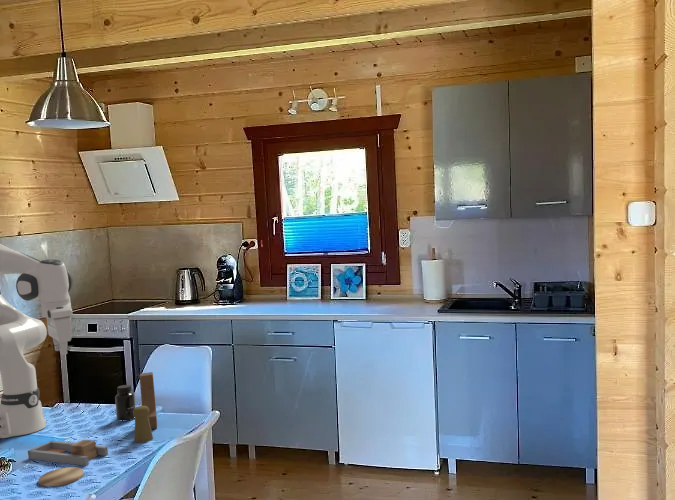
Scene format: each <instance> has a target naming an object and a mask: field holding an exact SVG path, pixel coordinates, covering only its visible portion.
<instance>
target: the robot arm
mask: <svg viewBox="0 0 675 500" xmlns="http://www.w3.org/2000/svg"><path fill="white" fill-rule="evenodd" d="M11 274H13V275H15V274H17V275H18V274H20V275H19V276H18V277H17V279H16V285H15V289H16V292H17V295H18V296H19V298H21V299H22V300H24V301H25V302H26V301H27V302H28V301H29V302H34V301H39V300H40V308H41V317H42V318H45V319H46V323H47V327H46V325H45V323H44V322H43V321H42V320H41V319H39V318H38V319H37V318H35V317H31V316H28V315H27V314H25V313H23V312H22V311H21V310H19V309H17V308H16V307H14V306H13V305H12V304H11V303H9V302H8V301H7V300H6V298H4V297H3V295H2V294H1V293H0V377H1V384H2V394H0V439H6V438H7V439H8V438H13V437H18V436H24V435H28V434H33V433H36V432H39V431H40V430H43V429H45V428H46V426H47V424H46V423H47V419H46V418H45V415H44V410H43V406H42V402H41V400H40V397H41V396H40V388H39V387H38V383H37V382H38V381H37V380H38V379H37V371H36V367H35V365H34V364H32V363H30V362H28V361H27V360H26V357H25V356H24V351H27V350H30V349H34V348H36V347H38V346H39V345H41V343H43V342H44V341H45V340H46V338H47V335H48V336H49V337H51V338H52V341H53V345H54V351H55V352H59V353H60V355H61V356H65V355H67V354H68V346H69V345H68V342H71V341H72V337H73V336H72V335H73V334H72V333H73V331H72V317H73V315H74V314H73V309H72V303H71V302H72V301H71V296H70V292H71V290H72V287H73V283H74V282H73V281H74V280H73V276H72V275H71V273H70V271H69V270H67V267H66V264H65V262H64V261H61V260H60V259H42V260H39V259H37V258H35V257H33V256H30V255H28V254H25V253H23V252H21V251H17V250H15V249H12V248H11V247H8V246H6V245H4V244H2V243H0V275H11Z"/></svg>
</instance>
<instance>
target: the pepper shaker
mask: <svg viewBox="0 0 675 500" xmlns="http://www.w3.org/2000/svg"><path fill="white" fill-rule="evenodd" d="M133 415H134V417H135V418H134V437H133V439H134V440H133V442H134V443H138V444H139V443H146V442H150V441H152V440H154V436H153V431H152V429H151V426H150V422H149V418H148V415H149V408H148V407H147V406H142V405H138V406H135V408H134V410H133Z"/></svg>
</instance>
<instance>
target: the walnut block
mask: <svg viewBox="0 0 675 500" xmlns="http://www.w3.org/2000/svg"><path fill="white" fill-rule="evenodd" d="M74 443H75V444H73V445H71V452H70V453H71V454H73V455H81V456H88V460H89V461H90V460H93V459H95V458H96V457H97V456H98V455H97V454H96V444H97V443H96V440H89V439H88V440H87V439H81V440H80V441H77V442H74Z"/></svg>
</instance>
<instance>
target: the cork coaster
mask: <svg viewBox="0 0 675 500" xmlns="http://www.w3.org/2000/svg"><path fill="white" fill-rule="evenodd" d="M84 475H85V472H84V469H83V468H81V467H75V466H72V467H70V466H69V467H62V468H57V469H54V470H53V469H52V470H51V471H48V472H46V473H44V474H42V475H40V477H39V478H38V485H40V486H41V485H42V486H41V487H44V486H51V487H50V488H53V487H52V486H56V487H61V486H60V485H62V486H66V485H68V484H69V483H70V484H72V483H75V482H77V481H79V480H81V479H82V478H83V477H84ZM81 477H82V478H81ZM65 484H66V485H65Z"/></svg>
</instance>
